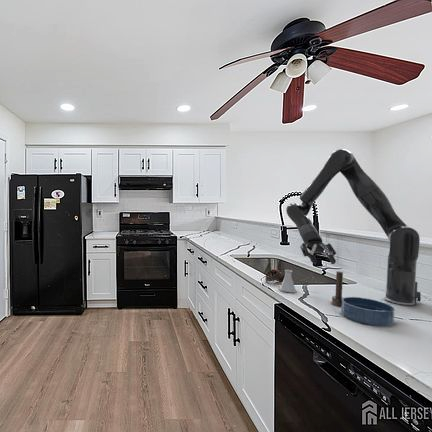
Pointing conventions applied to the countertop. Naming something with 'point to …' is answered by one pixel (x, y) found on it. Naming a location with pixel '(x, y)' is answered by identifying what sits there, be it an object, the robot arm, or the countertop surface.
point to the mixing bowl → (367, 311)
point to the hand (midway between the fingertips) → (324, 263)
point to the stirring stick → (338, 289)
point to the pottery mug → (274, 275)
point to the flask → (288, 282)
